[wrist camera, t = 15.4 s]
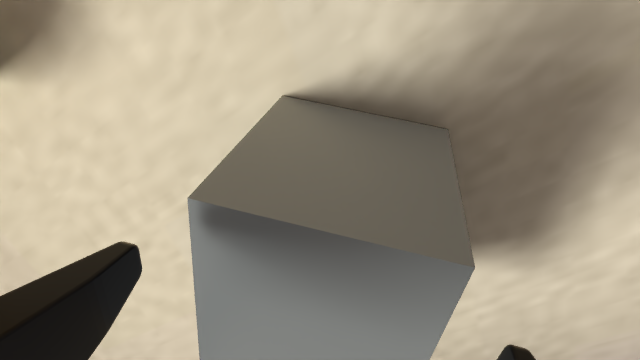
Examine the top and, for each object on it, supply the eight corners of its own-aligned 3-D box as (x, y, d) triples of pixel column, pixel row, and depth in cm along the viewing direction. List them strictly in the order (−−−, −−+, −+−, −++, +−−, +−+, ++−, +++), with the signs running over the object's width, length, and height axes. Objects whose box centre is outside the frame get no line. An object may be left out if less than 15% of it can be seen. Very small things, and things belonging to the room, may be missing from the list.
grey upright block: (404, 254, 21) (400, 419, 13) (272, 222, 22) (199, 361, 14) (447, 129, 17) (475, 267, 9) (282, 95, 18) (187, 198, 10)
